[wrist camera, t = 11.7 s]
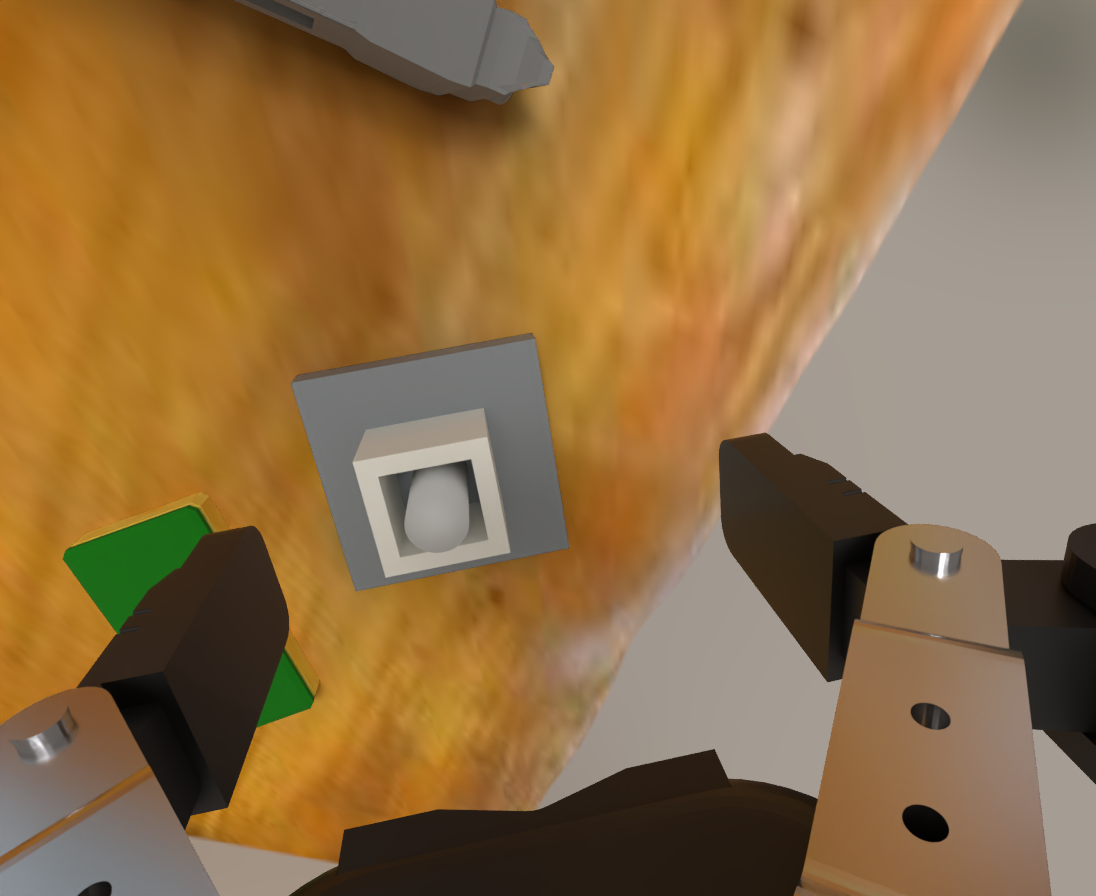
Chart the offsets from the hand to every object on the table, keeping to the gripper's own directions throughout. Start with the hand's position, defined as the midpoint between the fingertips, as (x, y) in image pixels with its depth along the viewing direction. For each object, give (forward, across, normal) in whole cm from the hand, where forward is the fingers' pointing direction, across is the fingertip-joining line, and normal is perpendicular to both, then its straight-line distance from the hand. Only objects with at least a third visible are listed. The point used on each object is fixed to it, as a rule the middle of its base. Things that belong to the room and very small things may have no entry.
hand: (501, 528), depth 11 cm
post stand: (+23, +3, +8) cm, 25 cm away
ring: (+22, +3, +8) cm, 23 cm away
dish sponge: (+24, +18, +15) cm, 33 cm away
